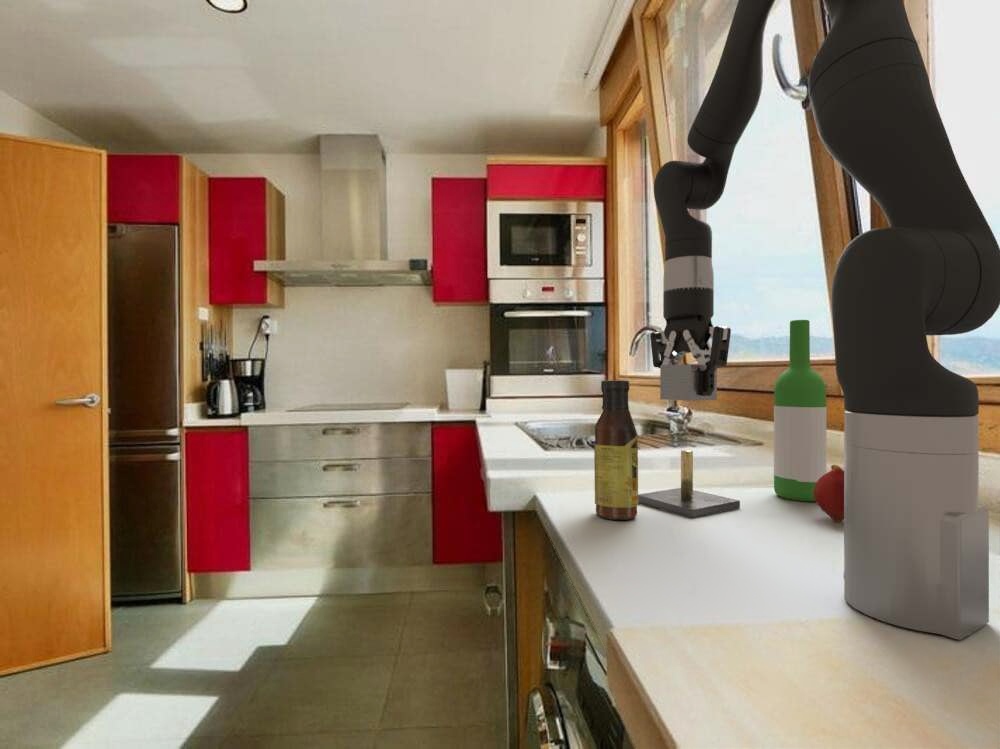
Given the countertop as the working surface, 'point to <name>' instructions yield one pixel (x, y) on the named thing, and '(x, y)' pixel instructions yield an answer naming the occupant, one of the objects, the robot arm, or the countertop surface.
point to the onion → (831, 493)
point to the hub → (688, 495)
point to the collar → (683, 383)
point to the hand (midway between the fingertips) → (687, 394)
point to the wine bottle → (799, 421)
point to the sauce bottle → (616, 455)
